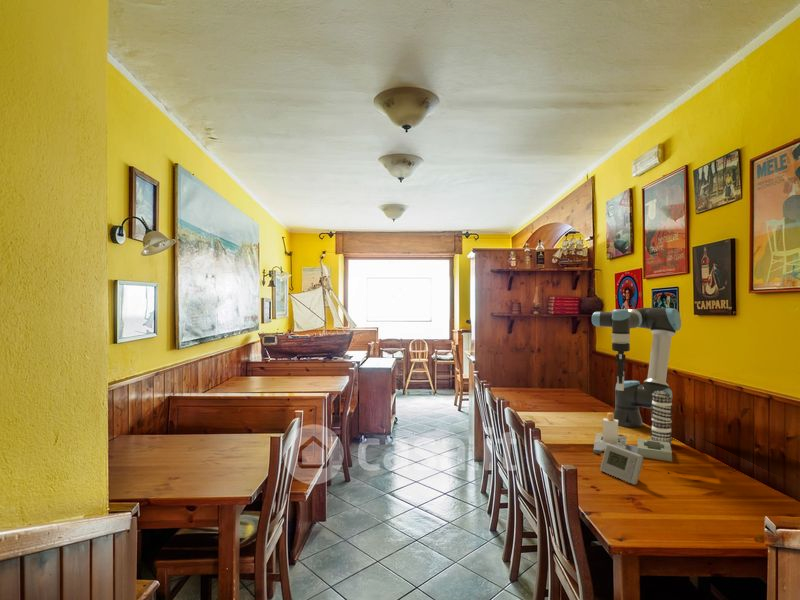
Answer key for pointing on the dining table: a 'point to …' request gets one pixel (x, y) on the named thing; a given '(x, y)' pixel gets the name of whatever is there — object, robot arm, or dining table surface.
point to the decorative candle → (661, 417)
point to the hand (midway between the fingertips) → (620, 387)
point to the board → (628, 447)
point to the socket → (601, 445)
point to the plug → (610, 429)
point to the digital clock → (622, 463)
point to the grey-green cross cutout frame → (654, 449)
